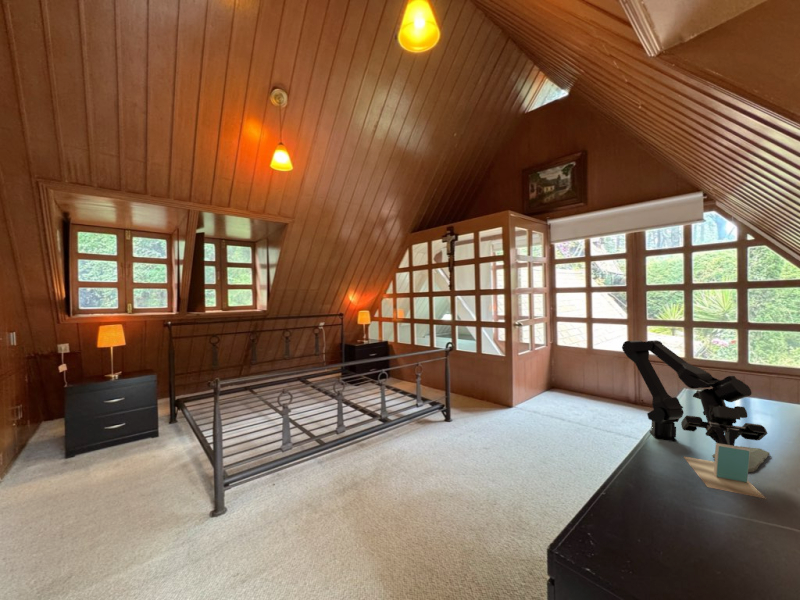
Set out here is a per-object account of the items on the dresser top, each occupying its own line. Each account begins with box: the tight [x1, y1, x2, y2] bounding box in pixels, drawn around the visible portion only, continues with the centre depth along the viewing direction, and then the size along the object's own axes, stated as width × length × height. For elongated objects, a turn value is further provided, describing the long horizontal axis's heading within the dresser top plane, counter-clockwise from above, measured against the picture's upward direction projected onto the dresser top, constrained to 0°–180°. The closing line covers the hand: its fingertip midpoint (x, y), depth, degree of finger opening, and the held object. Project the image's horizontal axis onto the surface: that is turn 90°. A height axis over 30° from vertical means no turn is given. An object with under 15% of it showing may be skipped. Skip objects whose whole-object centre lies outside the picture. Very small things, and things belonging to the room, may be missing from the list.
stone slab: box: [711, 445, 771, 473], centre depth 108 cm, size 22×3×10 cm
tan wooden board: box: [683, 456, 767, 499], centre depth 97 cm, size 18×12×1 cm
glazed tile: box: [713, 442, 750, 482], centre depth 95 cm, size 2×7×10 cm, turn 65°
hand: (730, 455), depth 96 cm, fingers closed
